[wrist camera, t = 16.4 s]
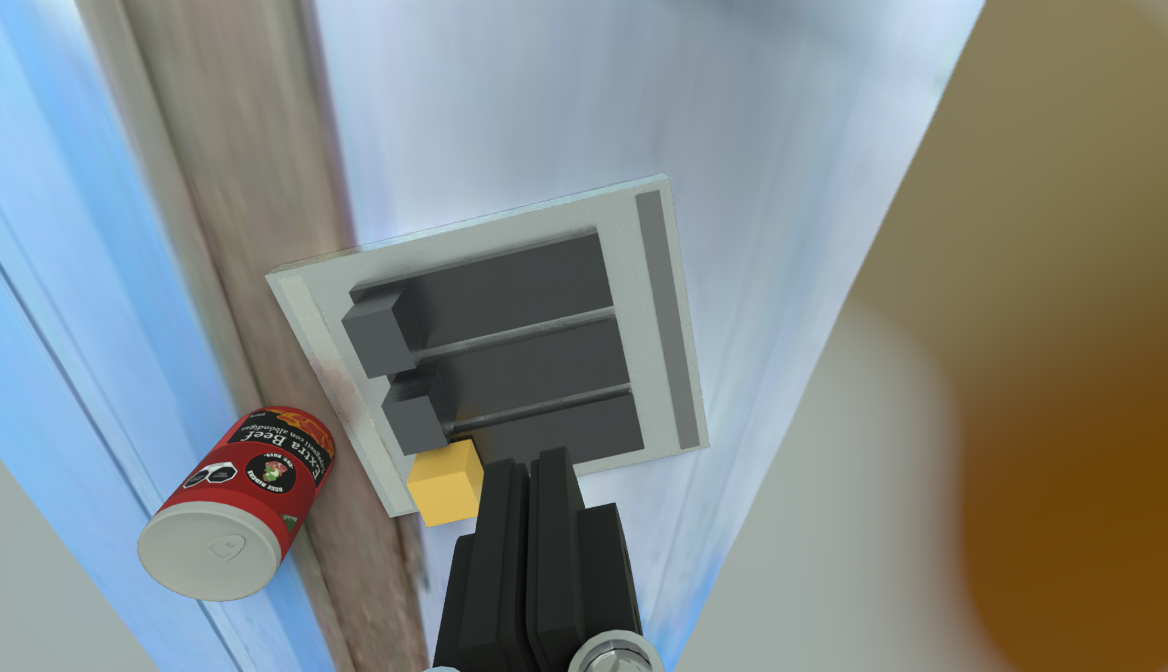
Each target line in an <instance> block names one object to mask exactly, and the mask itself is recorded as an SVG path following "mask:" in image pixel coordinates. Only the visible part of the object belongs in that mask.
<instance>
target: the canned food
mask: <svg viewBox="0 0 1168 672" xmlns="http://www.w3.org/2000/svg"><path fill="white" fill-rule="evenodd" d="M334 453H335V450H334V442H333V438H332V436H331V434H330V432H329V431H328V429H327V428H326V427H325V426H324V425H323V423H321V422H320V421H319V420H318V419H316V418H315V417H313V416H312V415H310V414H308V413H306V412H304V411H301V410H299V409H295V408H290V407H282V406H274V407H266V408H262V409H258V410H256V411H254V412H252V413H250V414H248V415H246V416H244V417H242V418H241V419H240V420H238V421H237V422H236V423H235V424H234V425H233V426H232V427H231V428H230V430H229V431H228V432H227V433H226V434H225V435H224V436H223V437H222V439H221V440H220V441H219V442H218V443H217V444H216V445H215V446H214V448H213V449H212V450H211V451H210V452H209V453H208V454H207V456H206V457H205V458H204V459H203V460H202V461H201V462H200V463H199V465H198V466H197V467H196V468H195V469H194V470H193V471H192V472H191V474H190V475H189V476H188V477H187V478H186V479H185V480H184V481H183V483H182V484H181V485H180V486H179V487H178V488H177V489H176V491H175V492H174V493H173V494H172V495H171V496H170V497H169V498H168V500H167V501H166V502H165V503H164V504H163V505H162V507H161V508H160V509H159V510H158V512H157V513H156V514H155V515H154V516H153V517H152V518H151V520H150V521H149V522H148V524H147V525H146V527H145V528H144V530H143V531H142V532H141V534H140V537H139V540H138V546H137V552H138V556H139V560H140V562H141V563H142V565H143V567H144V569H145V570H146V571H147V572H148V574H149V575H150V576H151V577H152V578H153V579H155V580H156V581H157V582H158V583H159V584H161V585H162V586H164V587H166V588H168V589H169V590H171V591H173V592H176V593H178V594H180V595H183V596H186V597H190V598H193V599H198V600H205V601H232V600H237V599H241V598H245V597H248V596H250V595H252V594H255V593H257V592H258V591H260V590H261V589H263V588H264V587H265V586H266V585H267V584H268V583H269V582H270V581H271V579H272V577H273V576H274V575H275V574H276V572H277V570H278V568H279V566H280V564H281V563H282V561H283V559H284V557H285V556H286V554H287V552H288V550H289V548H290V546H291V544H292V542H293V540H294V539H295V537H296V535H297V533H298V531H299V529H300V527H301V525H302V523H303V521H304V520H305V518H306V516H307V514H308V512H309V510H310V508H311V506H312V504H313V502H314V501H315V499H316V497H317V495H318V493H319V491H320V489H321V487H322V485H323V483H324V482H325V480H326V478H327V476H328V474H329V472H330V470H331V468H332V466H333V462H334Z"/></svg>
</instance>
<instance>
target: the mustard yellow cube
mask: <svg viewBox="0 0 1168 672" xmlns="http://www.w3.org/2000/svg"><path fill="white" fill-rule="evenodd" d="M483 476H484V471H483V468H482V465H481V463H480V460H479V458H478V455H477V453H476V450H475V448H474V445H473V443H472V440H471V439H469V440H464V441H460V442H455V443H451V444H449V446H447V447H443V448H438V449H434V450H429V451H425V452H421V453H417V454H416V457H415V460H414V463H413V466H412V469H411V472H410V475H409V478H408V481H407V486H408V488H409V490H410V492H411V494H412V496H413V499H414V501H415V503H416V505H417V507H418V509H419V511H420V513H421V515H422V517H423V519H424V521H425V524H426V526H427V527H431V526H436V525H440V524H445V523H449V522H454V521H458V520H463V519H467V518H472V517H476V516H478V510H479V503H480V496H481V490H482V483H483Z"/></svg>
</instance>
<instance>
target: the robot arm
mask: <svg viewBox="0 0 1168 672" xmlns="http://www.w3.org/2000/svg"><path fill="white" fill-rule="evenodd" d="M423 672H665V669H664V666H663V664H662V661H661V658H660V657H659V655H658V653H657V651H656V649H655V648H654V646H653V645H652V644H651V643H650V642H648V641H647V640H646V639H645V638H644V637H643V633H642V627H641V621H640V616H639V610H638V604H637V599H636V593H635V587H634V581H633V576H632V570H631V565H630V560H629V555H628V550H627V546H626V541H625V537H624V533H623V529H622V525H621V521H620V517H619V513H618V510H617V506H616V503H610V504H606V505H601V506H597V507H592V508H587V509H585V505H584V502H583V498H582V495H581V492H580V488H579V485H578V482H577V478H576V475H575V472H574V468H573V465H572V461H571V458H570V455H569V452H568V449H567V446H562V447H557V448H553V449H548V450H544V451H540V454H539V459H536V460H532V461H531V470H530V475H529V472H528V469H527V467H526V464H525V463H524V462H523V463H518V464H516V461H515V460H514V458H508V459H504V460H499V461H495V462H490V463H487V464H486V465H485V470H484V476H483V483H482V490H481V496H480V503H479V510H478V517H477V523H476V530H475V533H473V534H469V535H464V536H460V537H459V538H458V539H457V542H456V545H455V549H454V555H453V560H452V565H451V571H450V576H449V581H448V587H447V592H446V597H445V603H444V608H443V614H442V619H441V624H440V630H439V635H438V640H437V646H436V651H435V656H434V662H433V667H432V668H431V669H427V670H425V671H423Z"/></svg>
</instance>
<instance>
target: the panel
mask: <svg viewBox="0 0 1168 672" xmlns="http://www.w3.org/2000/svg"><path fill="white" fill-rule="evenodd" d="M265 278H266V280H267V282H268V283H269V285H270V287H271V289H272V291H273V293H274V295H275V297H276V299H277V301H278V303H279V305H280V307H281V309H282V310H283V312H284V314H285V316H286V318H287V320H288V322H289V324H290V326H291V328H292V330H293V332H294V334H295V336H296V338H297V339H298V341H299V343H300V345H301V347H302V349H303V351H304V353H305V355H306V357H307V359H308V361H309V363H310V365H311V366H312V368H313V370H314V372H315V374H316V376H317V378H318V380H319V382H320V384H321V386H322V388H323V390H324V392H325V394H326V395H327V397H328V399H329V401H330V403H331V405H332V407H333V409H334V411H335V413H336V415H337V417H338V419H339V421H340V423H341V424H342V426H343V428H344V430H345V432H346V434H347V436H348V438H349V440H350V442H351V444H352V446H353V448H354V450H355V451H356V453H357V455H358V457H359V459H360V461H361V463H362V465H363V467H364V469H365V471H366V473H367V475H368V477H369V479H370V480H371V482H372V484H373V486H374V488H375V490H376V492H377V494H378V496H379V498H380V500H381V502H382V504H383V506H384V507H385V509H386V511H387V513H388V515H389V517H390V518H391V517H395V516H400V515H404V514H409V513H413V512H418V511H419V509H418V507H417V505H416V503H415V501H414V499H413V496H412V494H411V492H410V490H409V488H408V486H407V481H408V478H409V475H410V472H411V469H412V466H413V463H414V460H415V457H416V454H417V453H421V452H425V451H429V450H434V449H438V448H443V447H447V446H449V444H451V443H455V442H460V441H464V440H469V439H471V440H472V443H473V445H474V448H475V450H476V453H477V455H478V458H479V460H480V463H481V465H482V468H483V471H484V470H485V465H486V464H487V463H490V462H495V461H499V460H504V459H508V458H514V460H515V461H516V464H518V463H523V462H524V463H525V464H526V467H527V469H528V472H529V475H530V470H531V461H532V460H536V459H539V454H540V451H544V450H548V449H553V448H557V447H562V446H567V449H568V452H569V455H570V458H571V461H572V465H573V468H574V472H575V475H576V476H581V475H585V474H590V473H594V472H599V471H603V470H608V469H612V468H617V467H621V466H626V465H630V464H635V463H640V462H644V461H649V460H653V459H658V458H662V457H667V456H671V455H676V454H680V453H685V452H689V451H694V450H698V449H703V448H707V447H710V445H709V438H708V432H707V425H706V418H705V411H704V405H703V398H702V391H701V385H700V378H699V371H698V365H697V358H696V351H695V345H694V338H693V331H692V324H691V318H690V311H689V304H688V298H687V291H686V284H685V278H684V271H683V264H682V258H681V251H680V244H679V237H678V231H677V224H676V217H675V211H674V204H673V197H672V191H671V184H670V178H669V177H668V176H666V175H665V174H664V173H660V174H656V175H652V176H648V177H643V178H639V179H635V180H631V181H627V182H623V183H619V184H614V185H610V186H606V187H602V188H598V189H594V190H590V191H585V192H581V193H577V194H573V195H569V196H565V197H560V198H556V199H552V200H548V201H544V202H540V203H536V204H531V205H527V206H523V207H519V208H515V209H511V210H507V211H502V212H498V213H494V214H490V215H486V216H482V217H478V218H473V219H469V220H465V221H461V222H457V223H453V224H449V225H444V226H440V227H436V228H432V229H428V230H424V231H420V232H415V233H411V234H407V235H403V236H399V237H395V238H391V239H386V240H382V241H378V242H374V243H370V244H366V245H362V246H357V247H353V248H349V249H345V250H341V251H337V252H333V253H328V254H324V255H320V256H316V257H312V258H308V259H303V260H299V261H295V262H291V263H287V264H283V265H279V266H277V267H276V268H274V269H273V270H272V271H270V272H269V273H268V274H266V275H265Z"/></svg>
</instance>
